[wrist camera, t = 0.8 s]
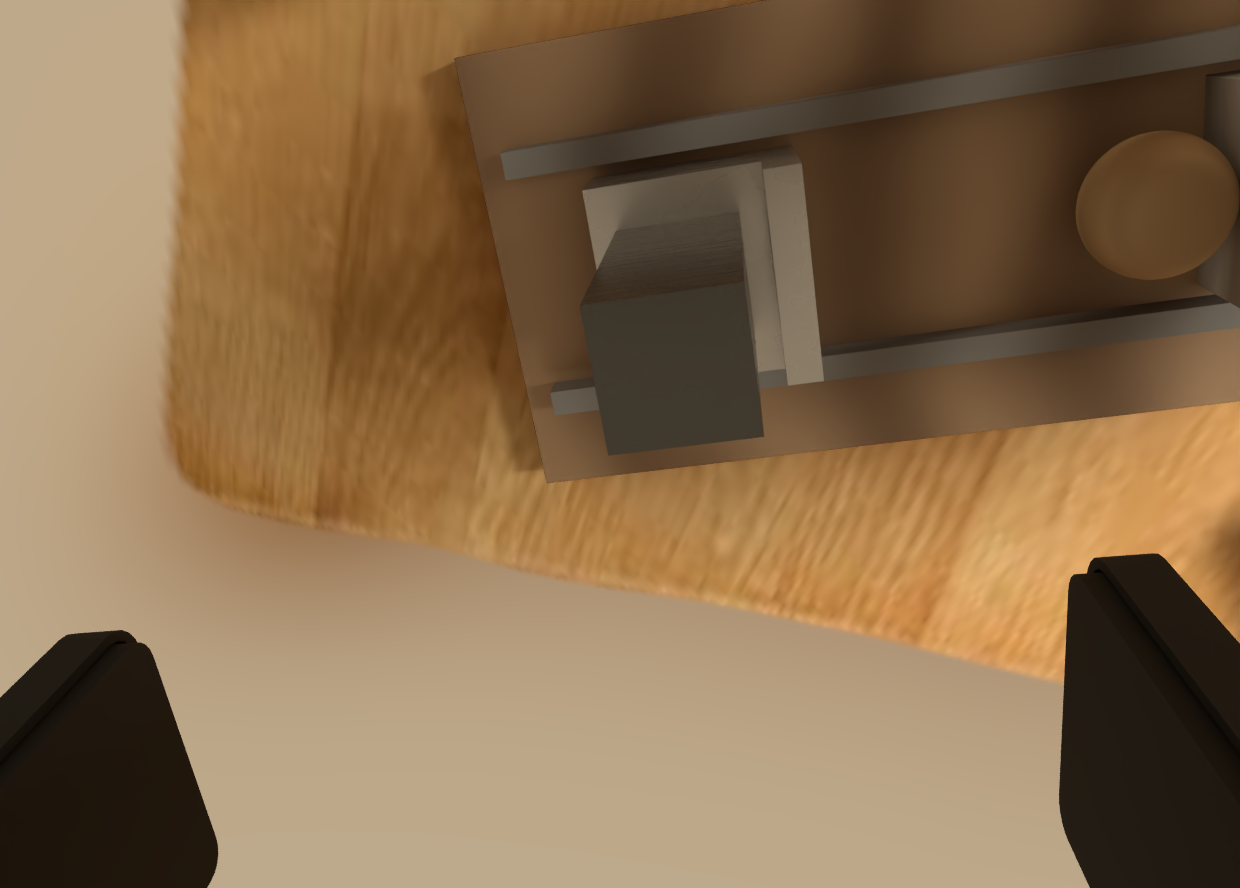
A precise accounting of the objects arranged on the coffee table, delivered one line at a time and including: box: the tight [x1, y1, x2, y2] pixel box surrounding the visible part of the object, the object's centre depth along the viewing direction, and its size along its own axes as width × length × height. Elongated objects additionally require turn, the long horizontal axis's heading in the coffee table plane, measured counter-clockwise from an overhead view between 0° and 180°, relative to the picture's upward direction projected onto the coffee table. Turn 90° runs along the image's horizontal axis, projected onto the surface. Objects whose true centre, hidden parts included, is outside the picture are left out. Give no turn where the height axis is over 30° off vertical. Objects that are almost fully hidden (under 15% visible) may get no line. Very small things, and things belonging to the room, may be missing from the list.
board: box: [454, 0, 1240, 483], centre depth 29 cm, size 24×14×6 cm, turn 100°
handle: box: [580, 145, 824, 456], centre depth 27 cm, size 6×6×10 cm
